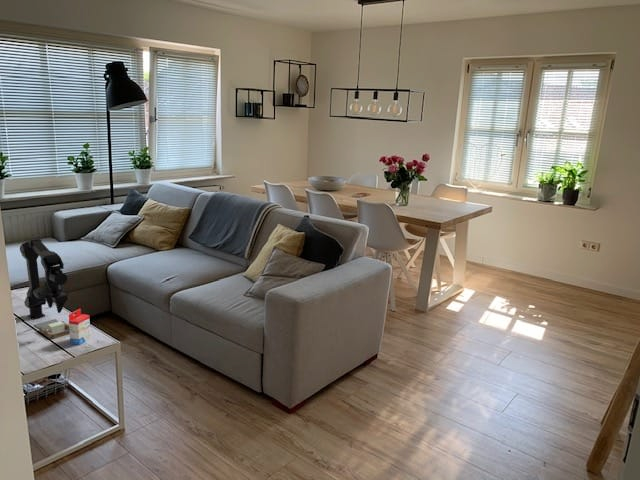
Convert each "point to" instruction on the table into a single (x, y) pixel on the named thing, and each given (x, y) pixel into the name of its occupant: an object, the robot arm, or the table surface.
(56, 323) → the sage block
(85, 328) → the ink box
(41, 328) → the frame
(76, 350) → the table surface
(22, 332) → the table surface
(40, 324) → the mat
